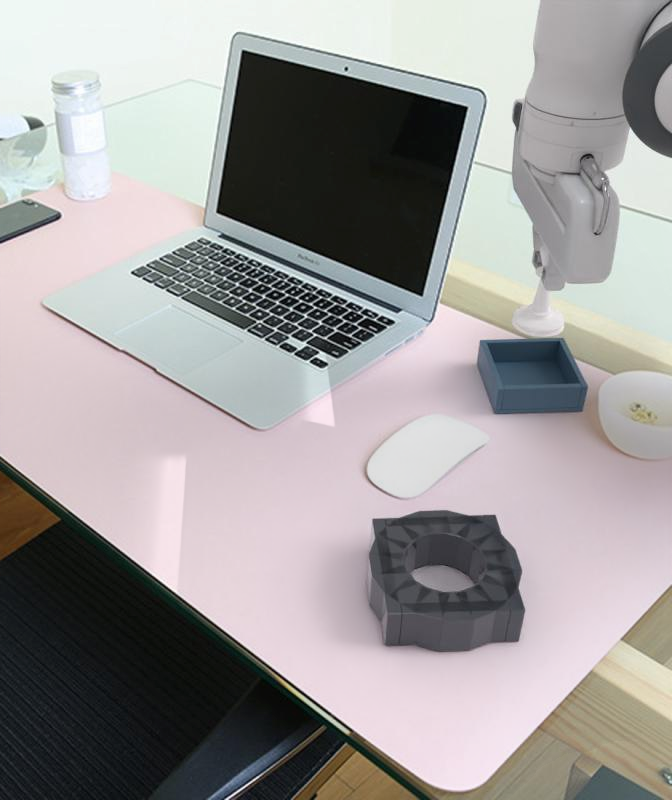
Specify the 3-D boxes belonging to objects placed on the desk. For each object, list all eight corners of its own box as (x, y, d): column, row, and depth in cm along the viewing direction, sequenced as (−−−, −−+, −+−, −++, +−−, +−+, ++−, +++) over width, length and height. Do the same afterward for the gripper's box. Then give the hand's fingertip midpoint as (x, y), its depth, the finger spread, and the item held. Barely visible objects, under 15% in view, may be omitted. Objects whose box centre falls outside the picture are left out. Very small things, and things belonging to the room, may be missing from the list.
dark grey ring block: (497, 538, 79) (502, 507, 77) (530, 648, 70) (537, 617, 68) (360, 543, 79) (362, 512, 77) (376, 654, 70) (379, 622, 68)
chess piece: (560, 341, 90) (580, 246, 84) (507, 332, 91) (523, 237, 85) (566, 315, 93) (585, 222, 87) (516, 306, 95) (531, 214, 89)
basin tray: (558, 361, 100) (563, 337, 98) (582, 411, 93) (588, 386, 91) (476, 363, 100) (479, 339, 98) (494, 414, 93) (498, 389, 91)
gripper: (652, 184, 73) (615, 337, 81) (576, 93, 89) (552, 228, 97) (570, 186, 73) (541, 339, 81) (509, 95, 89) (490, 229, 97)
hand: (546, 277), depth 89 cm, fingers closed on chess piece
